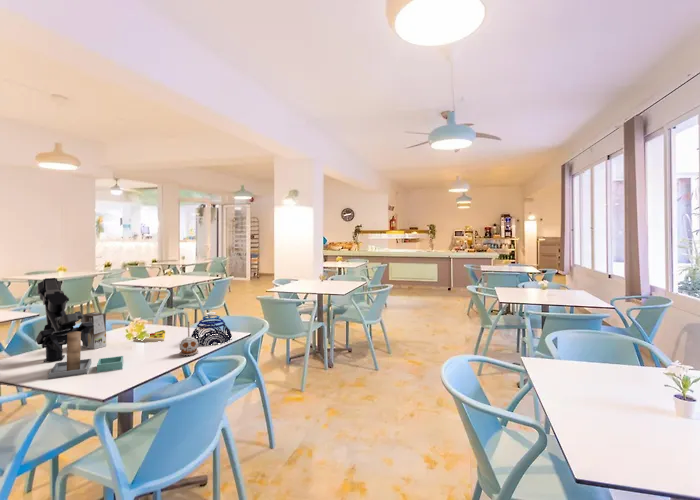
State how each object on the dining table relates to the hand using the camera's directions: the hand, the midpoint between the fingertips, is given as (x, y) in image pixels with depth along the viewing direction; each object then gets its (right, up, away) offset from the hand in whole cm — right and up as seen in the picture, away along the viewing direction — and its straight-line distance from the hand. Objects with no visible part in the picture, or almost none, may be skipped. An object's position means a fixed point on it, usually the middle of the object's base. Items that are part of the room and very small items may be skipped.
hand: (74, 349), depth 151 cm
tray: (-3, -9, +2) cm, 10 cm away
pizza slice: (+5, -8, +54) cm, 54 cm away
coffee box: (-16, -8, +35) cm, 39 cm away
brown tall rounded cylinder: (-1, -9, +1) cm, 9 cm away
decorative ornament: (+35, -9, +24) cm, 44 cm away
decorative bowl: (+37, -8, +47) cm, 60 cm away
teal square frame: (+10, -9, +6) cm, 15 cm away
